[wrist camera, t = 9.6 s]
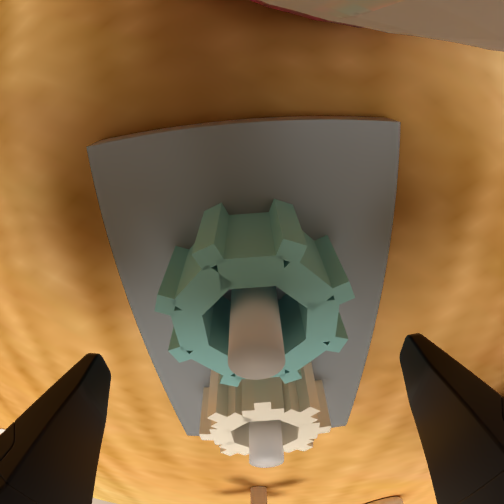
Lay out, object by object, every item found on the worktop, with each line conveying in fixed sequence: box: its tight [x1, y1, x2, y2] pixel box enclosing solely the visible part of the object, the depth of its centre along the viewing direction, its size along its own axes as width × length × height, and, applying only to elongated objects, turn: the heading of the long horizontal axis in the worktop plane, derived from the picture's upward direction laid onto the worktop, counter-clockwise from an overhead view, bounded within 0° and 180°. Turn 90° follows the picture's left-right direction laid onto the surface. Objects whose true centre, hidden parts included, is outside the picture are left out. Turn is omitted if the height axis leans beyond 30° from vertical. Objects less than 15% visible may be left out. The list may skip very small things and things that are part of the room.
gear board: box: [87, 116, 400, 468], centre depth 13 cm, size 11×19×6 cm, turn 4°
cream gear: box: [199, 362, 331, 456], centre depth 15 cm, size 6×6×3 cm
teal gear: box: [154, 199, 355, 387], centre depth 11 cm, size 6×6×3 cm
